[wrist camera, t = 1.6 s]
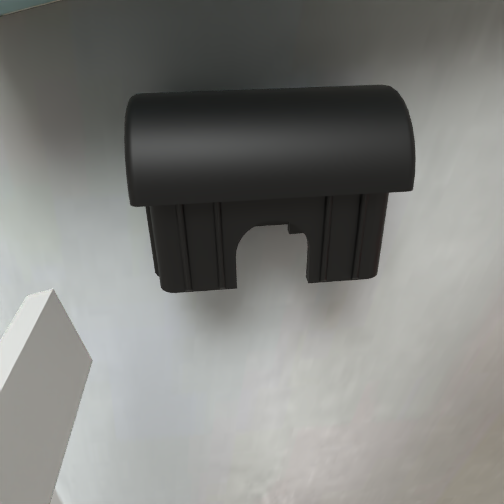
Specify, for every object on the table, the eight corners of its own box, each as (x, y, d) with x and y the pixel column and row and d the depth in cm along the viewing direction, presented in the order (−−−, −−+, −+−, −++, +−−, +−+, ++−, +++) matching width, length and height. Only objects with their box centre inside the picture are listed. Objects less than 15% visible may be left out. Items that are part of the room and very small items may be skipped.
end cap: (363, 72, 20) (431, 101, 14) (349, 215, 24) (399, 285, 18) (139, 79, 19) (113, 113, 13) (159, 226, 23) (145, 304, 17)
